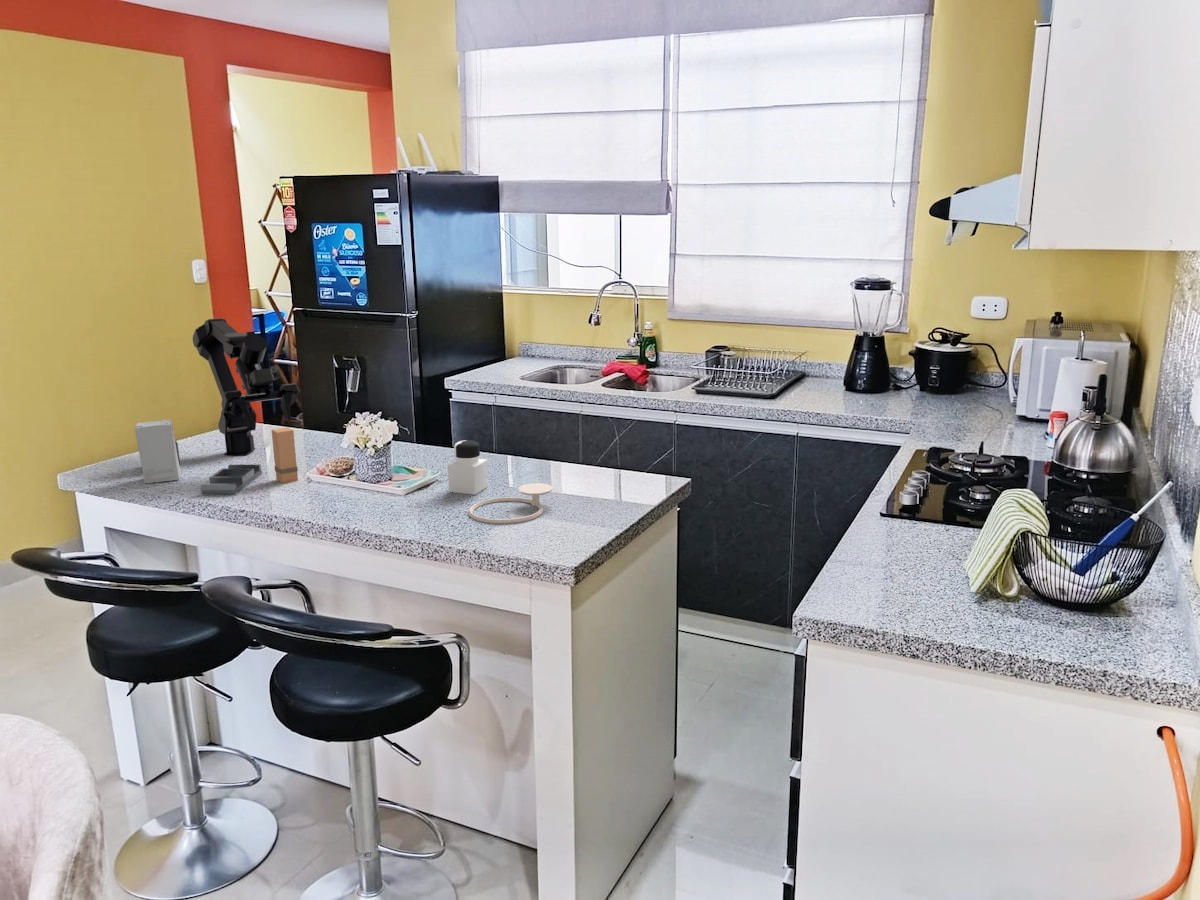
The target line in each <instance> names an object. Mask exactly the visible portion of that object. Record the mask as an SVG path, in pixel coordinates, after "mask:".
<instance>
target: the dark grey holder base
mask: <svg viewBox="0 0 1200 900" xmlns="http://www.w3.org/2000/svg"><path fill="white" fill-rule="evenodd" d="M261 473H262V465H261V464H228V466H227V468H221V469H219V470H218V471H216V472H214V474H212V475H211V476H209V477H208V478H209V479H208V480H209V481H208V482H209V483H201V485H200V488H201V489H200V490H201V495H202V494H235V495H237V494H238V493H240V492H241V491H242V490H243V489H244V488H246V487H247V486H248V485H249V484H251V483H252V482H253V481H254V480H256V479H257V478H258V477H259V476H260V475H262V474H263V473H262V474H261ZM256 477H257V478H256ZM251 481H252V482H251ZM247 484H248V485H247ZM246 485H247V486H246ZM241 489H242V490H241ZM236 493H237V494H236Z"/></svg>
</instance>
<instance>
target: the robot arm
mask: <svg viewBox="0 0 1200 900" xmlns="http://www.w3.org/2000/svg"><path fill="white" fill-rule="evenodd" d="M204 321H205V322H204V323H203V324H202V325H200V326H199V327H197V328H196V329H195V330H194V332H193V334H192V344H193V346H194V348H196V351H197V352H198V355H199V356H200V357H202V358H203V359H205V360H206V361H207V362H208V364H209V366H210V370H211V372H212V375H213V378H214V380H215V384H216V386H217V388H218V391H219V394H220V397H221V410H220V411H221V412H220V417H219V420H218V424H217V426H218V430H219V433H221V434H223V435H224V441H225V450H226V451H225V452H224V453H223V454H224V456H247V455H249V454H251V453H252V452H253V451H254V450H256V448H255V442H254V441H255V440H254V435H252V431H256V426H257V413H256V411H255V410H254V409H253V406H252V404H251V403H253V402H264V401H272V400H273V401H274V400H278V401H279V403H280V406H279V407H280V409H281V412H282V414H283V416H284V419H285V420H286V421H287V423H291V406H293V404H295V403H296V402H297V399H298V396H299V393H300V388H299V386H298V385H297V384H296V383H287V384H286V383H285V384H280V386H279V387H280V388H279V390H273V391H271V389H273V387H274V385H273V383H274V382H275V381H276V380H279V379H280V378H281V372H280V369H279V366H278V365H274V366H273V365H272V366H270V367H269V368H263V369H262V366H261V364H260V363H262V362H263V360H264V357H265V354H266V351H267V347H268V341H267V339H266V338H264V337H263V336H261V335H259V334H256V332H255V331H254V330H253V331H252V330H251V331H246V333H245V332H238V331H237V330H236V329H234V328H233V327H232V326H231V325H230V324H229V323H228V322H227V321H226V319H225V318H221V317H219V318H208V319H206V320H204ZM226 356H227V357H228V358H229V359H236V361H235V363H234V365H235V367H236V368H235V371H236V373H238V375H239V378H240V380H241V382H242V385H241V386H242V390H245V392H246V394H243V393H242V392H241V390H239V389H238V387H237V384H236V381H235V379H234V376H233V373H232V371H231V368H230V365H229V363H228V360H227V357H226Z"/></svg>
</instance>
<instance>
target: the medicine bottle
mask: <svg viewBox="0 0 1200 900" xmlns="http://www.w3.org/2000/svg"><path fill="white" fill-rule="evenodd" d="M480 446H481V445H480V443H479V442H478V441H475V440H470V439H469V440H464V439H463V440H459V441H457V442H455V444H454V446H453V448H454V449H453V450H454V460H453V461H451V462H450V463H448V464H447V474H448V475H447V476H448V477H447V478H448V491H449V493H452V492H453V493H454V494H462V495H463V494H464V495H471V496H475V495H477V494H479V493H480V492H482V491H483V490H485V489H486V488H488V486H489V483H488V481H489V479H488V478H489V477H488V460H487V459H486V458H481V451H480ZM453 493H452V494H453Z"/></svg>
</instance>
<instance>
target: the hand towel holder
mask: <svg viewBox="0 0 1200 900" xmlns="http://www.w3.org/2000/svg"><path fill="white" fill-rule="evenodd" d="M553 489H554V486H552V485H551V484H547V483H538V482H537V483H527V484H523V485H521V486H519V487H518V488H517V490H518V491H519V493H521V494H522V495H527V496H532V499H531V498H526V497H517V496H516V497H514V496H510V497H509V496H508V497H507V496H505V497H495V498H490V499H489V498H488V499H485V500H482V501H479V502H476V503H475V504H473V505H471V506H470V508H469V510H468V512H467V513H468V515H469V517H470V519H473V520H474V519H475V520H474V521H477V522H480V523H485V524H493V525H512V524H520V523H525V522H528V521H532V520H534V519H536V518H539V517H540V516H541V515H542V514H543V512H544V510H545V509H544V507H543V504H542V503H541V502H540V496H543V495H546V494H547V495H548V494H549V493H550V492H551V491H552V490H553ZM501 502H502V503H503V502H516V503H517V502H518V503H526V504H530V505H531V506H532V507H536V508H538V511H536V512H535V513H533V514H530V515H527V516H526V515H525V516H523V517H518V518H509V519H506V518H505V519H493V518H487V517H481V516H479V515H476V514H474V511H475V510H476V509H477V508H480V507H481V506H485V505H489V504H494V503H501Z"/></svg>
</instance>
